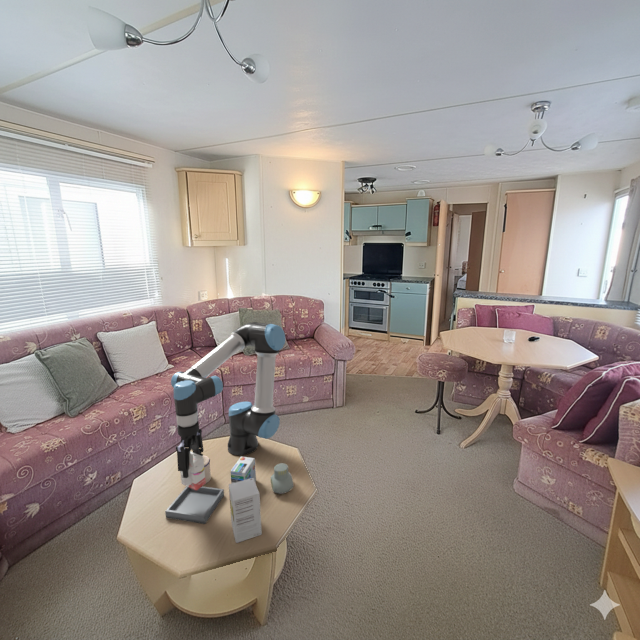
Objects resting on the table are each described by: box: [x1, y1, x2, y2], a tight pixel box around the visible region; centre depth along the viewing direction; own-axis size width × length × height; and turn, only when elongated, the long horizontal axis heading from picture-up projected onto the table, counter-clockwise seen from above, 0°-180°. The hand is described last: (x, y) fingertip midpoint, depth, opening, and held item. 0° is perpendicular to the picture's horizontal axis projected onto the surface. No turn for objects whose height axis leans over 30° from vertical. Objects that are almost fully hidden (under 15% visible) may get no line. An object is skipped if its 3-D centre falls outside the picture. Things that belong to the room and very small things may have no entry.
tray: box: [164, 485, 225, 525], centre depth 133 cm, size 15×16×3 cm
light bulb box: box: [229, 456, 257, 484], centre depth 143 cm, size 11×7×11 cm, turn 168°
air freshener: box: [270, 462, 294, 495], centre depth 142 cm, size 11×8×10 cm
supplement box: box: [228, 478, 263, 544], centre depth 120 cm, size 10×9×17 cm
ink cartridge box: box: [179, 450, 207, 490], centre depth 130 cm, size 9×5×15 cm, turn 61°
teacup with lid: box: [203, 454, 212, 484], centre depth 147 cm, size 12×9×12 cm
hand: (193, 477), depth 131 cm, fingers closed on ink cartridge box, 6 cm apart
